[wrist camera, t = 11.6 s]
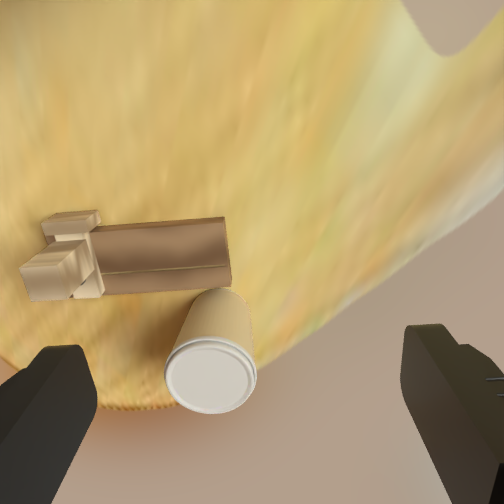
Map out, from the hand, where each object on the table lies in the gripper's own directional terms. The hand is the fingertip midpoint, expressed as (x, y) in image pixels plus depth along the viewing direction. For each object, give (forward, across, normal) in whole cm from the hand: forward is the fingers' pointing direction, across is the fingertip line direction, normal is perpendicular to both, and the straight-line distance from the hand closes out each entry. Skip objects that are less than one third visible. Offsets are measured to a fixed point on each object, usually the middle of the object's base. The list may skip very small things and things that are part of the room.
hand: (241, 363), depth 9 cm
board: (+33, +14, +11) cm, 38 cm away
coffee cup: (+33, +6, +20) cm, 39 cm away
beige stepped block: (+33, +20, +10) cm, 40 cm away
